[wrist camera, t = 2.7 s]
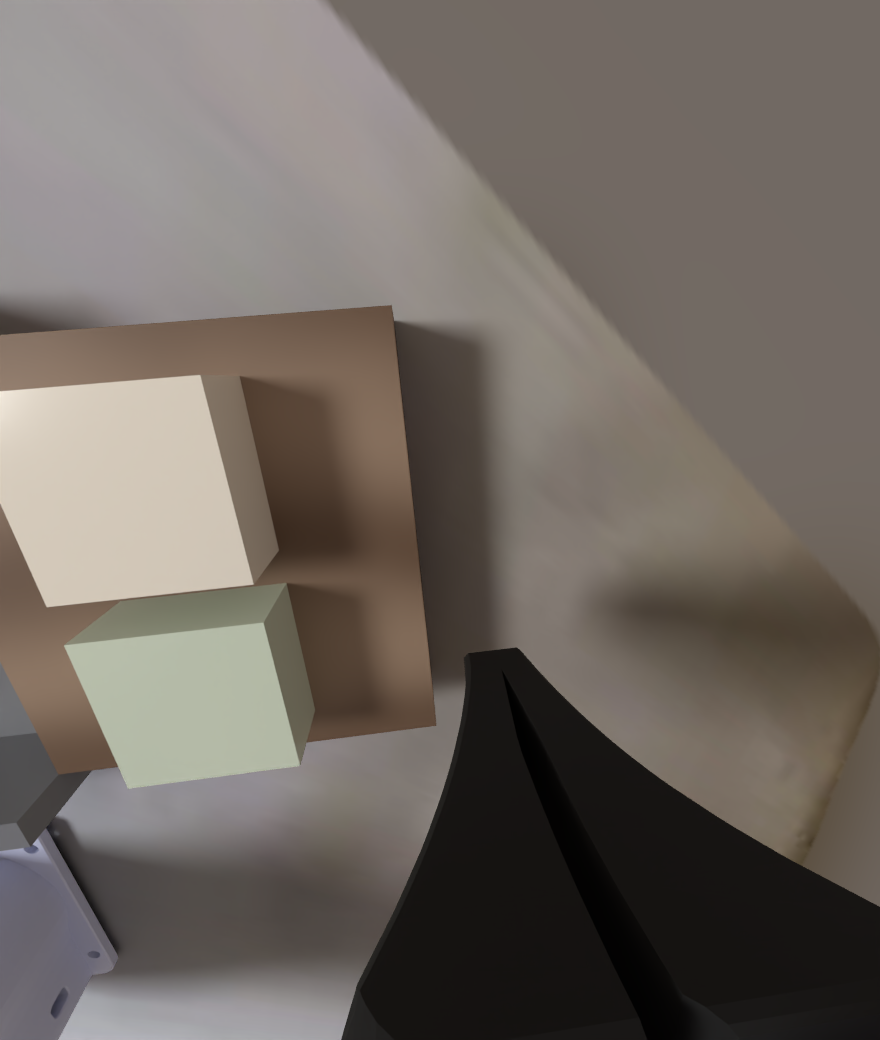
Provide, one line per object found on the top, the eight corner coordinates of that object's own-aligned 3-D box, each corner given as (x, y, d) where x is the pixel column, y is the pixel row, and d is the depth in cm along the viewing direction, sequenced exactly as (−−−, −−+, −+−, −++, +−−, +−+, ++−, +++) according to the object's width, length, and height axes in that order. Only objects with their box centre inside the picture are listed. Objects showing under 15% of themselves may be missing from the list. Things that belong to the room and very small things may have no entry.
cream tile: (278, 550, 11) (253, 584, 9) (108, 568, 11) (46, 607, 9) (240, 376, 10) (200, 375, 8) (41, 392, 10) (-49, 394, 8)
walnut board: (431, 674, 16) (436, 725, 14) (111, 713, 15) (58, 774, 13) (393, 320, 12) (391, 305, 10) (-45, 354, 11) (-163, 346, 9)
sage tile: (315, 710, 13) (300, 766, 11) (169, 728, 13) (128, 788, 11) (286, 583, 12) (263, 622, 10) (120, 601, 11) (63, 645, 9)
